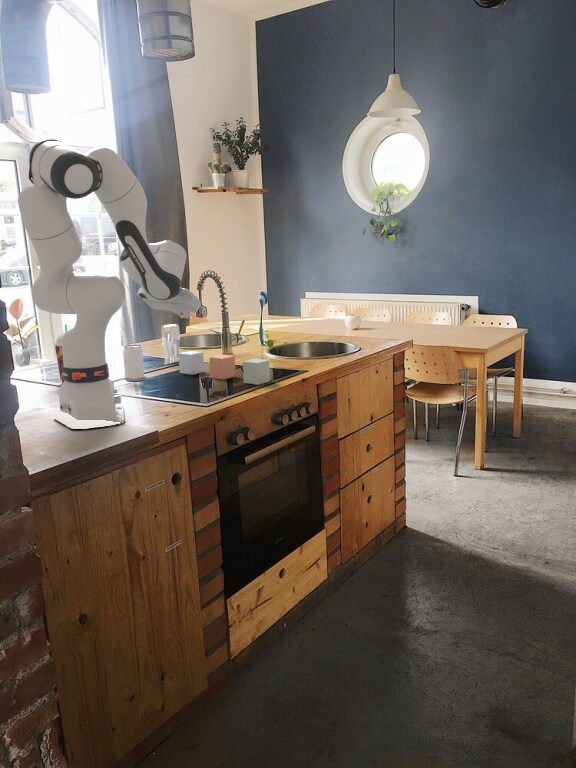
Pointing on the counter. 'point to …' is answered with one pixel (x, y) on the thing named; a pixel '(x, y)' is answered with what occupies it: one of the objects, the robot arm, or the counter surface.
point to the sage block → (256, 371)
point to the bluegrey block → (191, 362)
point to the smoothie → (60, 353)
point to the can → (133, 362)
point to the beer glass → (171, 342)
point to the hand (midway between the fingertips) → (186, 316)
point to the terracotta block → (222, 366)
